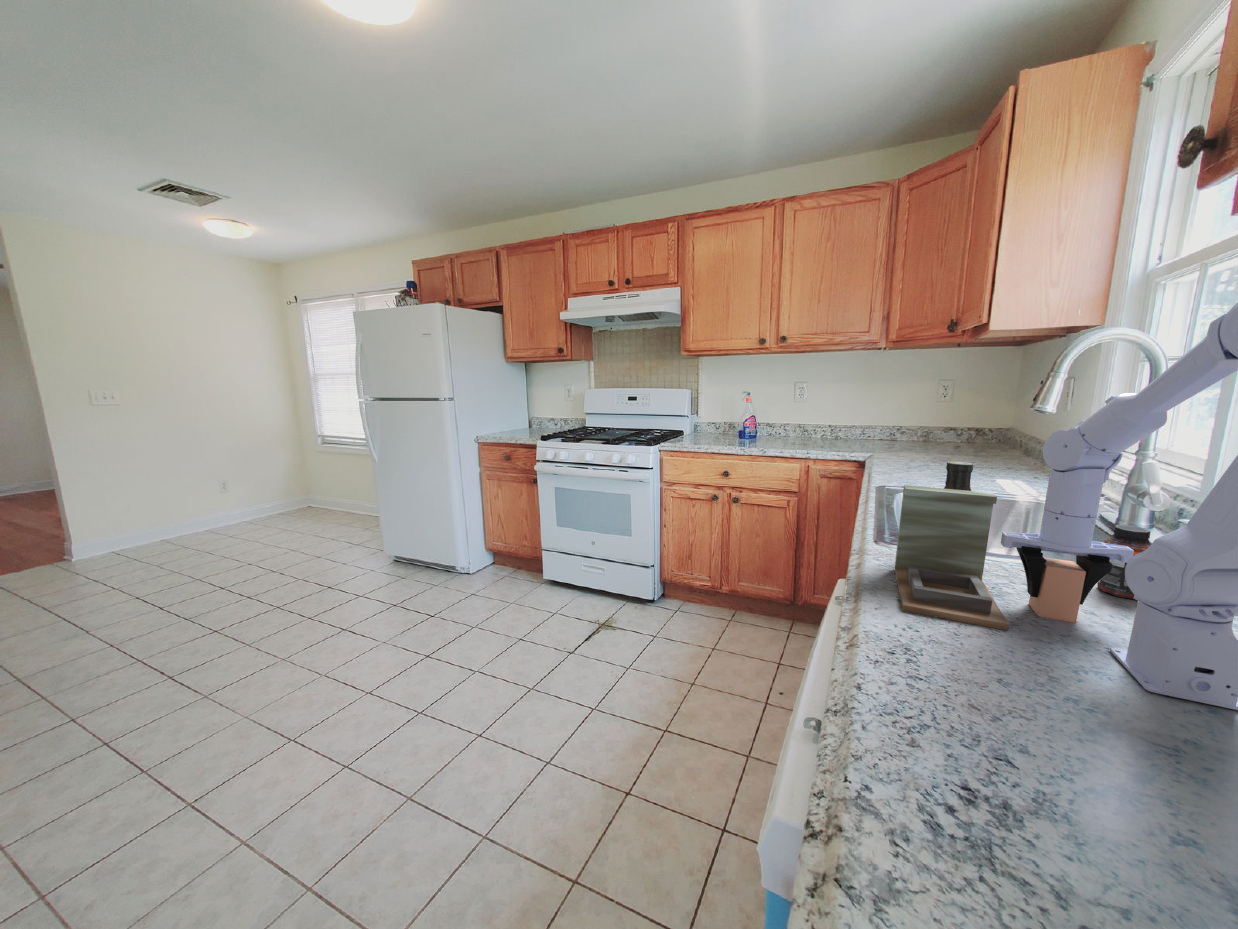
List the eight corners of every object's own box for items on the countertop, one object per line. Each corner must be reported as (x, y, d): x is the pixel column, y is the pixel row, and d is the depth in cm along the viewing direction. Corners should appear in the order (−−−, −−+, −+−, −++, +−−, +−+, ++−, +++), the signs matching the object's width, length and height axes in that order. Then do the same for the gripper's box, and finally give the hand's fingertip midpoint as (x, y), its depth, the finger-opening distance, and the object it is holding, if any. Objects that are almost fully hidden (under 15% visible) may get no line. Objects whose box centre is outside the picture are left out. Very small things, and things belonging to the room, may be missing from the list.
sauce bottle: (975, 572, 88) (990, 466, 85) (937, 569, 89) (951, 465, 86) (957, 559, 94) (971, 460, 91) (923, 556, 96) (935, 459, 92)
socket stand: (1007, 630, 68) (1025, 521, 65) (902, 610, 74) (914, 509, 71) (979, 582, 84) (992, 492, 81) (894, 569, 89) (904, 485, 86)
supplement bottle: (1123, 586, 82) (1135, 523, 81) (1158, 601, 77) (1172, 534, 75) (1086, 584, 83) (1097, 522, 81) (1118, 600, 77) (1131, 533, 75)
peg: (1076, 622, 70) (1086, 571, 69) (1037, 616, 72) (1046, 566, 71) (1064, 609, 74) (1073, 561, 73) (1028, 603, 76) (1036, 556, 75)
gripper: (1123, 511, 71) (1105, 597, 73) (1001, 500, 77) (989, 579, 79) (1148, 524, 64) (1128, 617, 67) (1013, 511, 71) (1000, 596, 73)
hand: (1054, 598), depth 73 cm, fingers open, 5 cm apart
